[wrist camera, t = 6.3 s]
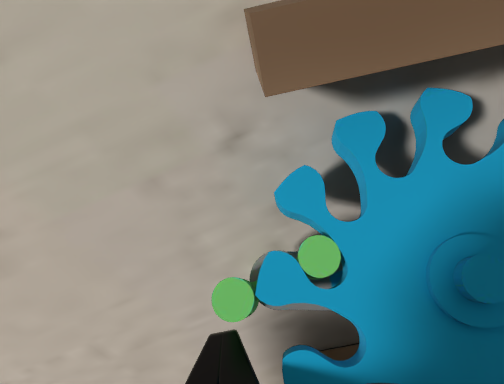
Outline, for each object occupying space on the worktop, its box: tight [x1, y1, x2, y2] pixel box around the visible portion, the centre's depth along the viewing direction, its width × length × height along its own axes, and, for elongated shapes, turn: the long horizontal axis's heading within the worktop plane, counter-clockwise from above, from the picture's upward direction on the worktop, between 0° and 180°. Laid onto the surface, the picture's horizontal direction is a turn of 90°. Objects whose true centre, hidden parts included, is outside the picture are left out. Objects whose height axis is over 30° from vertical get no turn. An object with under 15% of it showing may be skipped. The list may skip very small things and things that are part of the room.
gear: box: [212, 88, 504, 384], centre depth 10 cm, size 11×6×10 cm
